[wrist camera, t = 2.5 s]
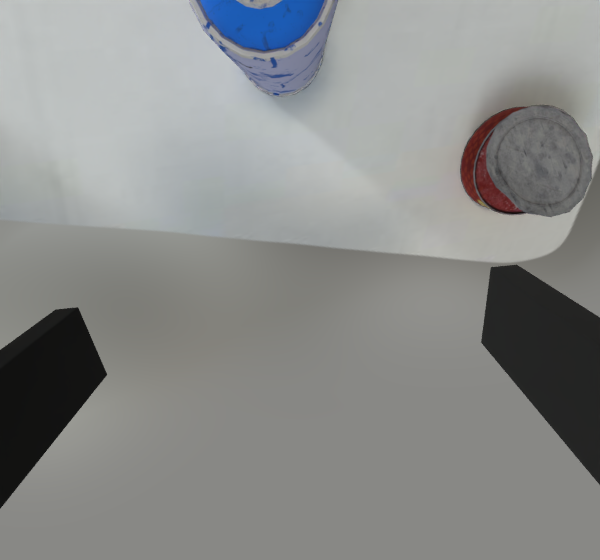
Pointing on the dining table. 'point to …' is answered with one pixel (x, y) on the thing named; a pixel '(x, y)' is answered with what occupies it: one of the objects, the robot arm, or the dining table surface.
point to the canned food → (528, 162)
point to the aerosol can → (270, 38)
